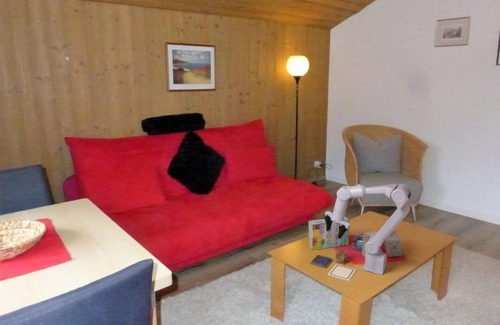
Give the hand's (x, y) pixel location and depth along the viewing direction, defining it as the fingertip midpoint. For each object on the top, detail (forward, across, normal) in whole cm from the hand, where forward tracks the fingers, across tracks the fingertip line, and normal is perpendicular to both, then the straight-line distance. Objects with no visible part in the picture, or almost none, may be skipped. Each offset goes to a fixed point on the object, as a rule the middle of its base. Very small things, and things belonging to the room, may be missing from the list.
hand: (333, 234), depth 182 cm
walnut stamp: (+12, +7, +3) cm, 14 cm away
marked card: (+12, +14, -5) cm, 19 cm away
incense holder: (+8, +16, +29) cm, 34 cm away
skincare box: (+10, +11, +18) cm, 24 cm away
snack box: (+15, -9, +10) cm, 20 cm away
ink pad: (+14, +1, -6) cm, 15 cm away
